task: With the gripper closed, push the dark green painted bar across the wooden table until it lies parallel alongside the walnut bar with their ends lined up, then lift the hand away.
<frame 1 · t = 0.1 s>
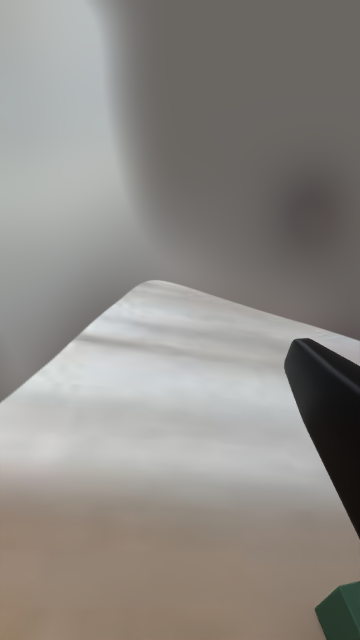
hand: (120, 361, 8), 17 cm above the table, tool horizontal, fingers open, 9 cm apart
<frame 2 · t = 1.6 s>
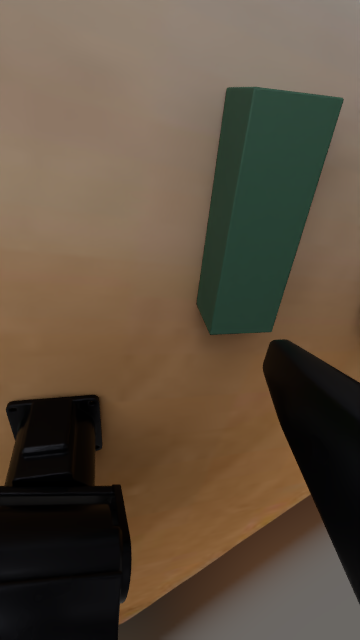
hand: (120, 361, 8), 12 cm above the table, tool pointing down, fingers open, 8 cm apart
green bar: (241, 216, 19), on the table
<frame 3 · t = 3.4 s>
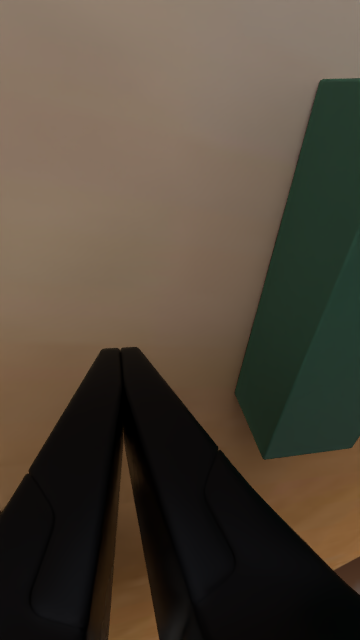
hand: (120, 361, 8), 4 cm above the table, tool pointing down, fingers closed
green bar: (312, 280, 12), on the table
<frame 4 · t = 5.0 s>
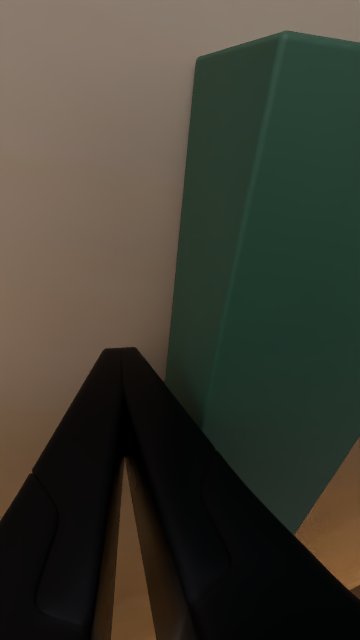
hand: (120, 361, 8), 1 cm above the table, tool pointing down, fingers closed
green bar: (236, 326, 10), on the table, touching gripper
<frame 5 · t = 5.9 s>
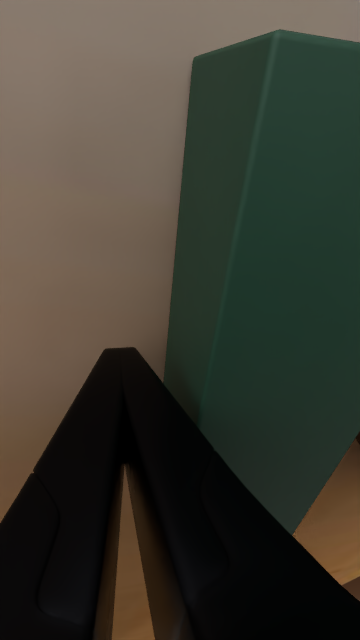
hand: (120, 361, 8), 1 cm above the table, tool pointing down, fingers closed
green bar: (234, 326, 10), on the table, touching gripper
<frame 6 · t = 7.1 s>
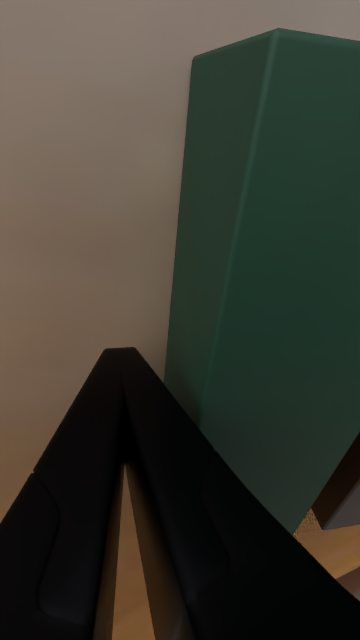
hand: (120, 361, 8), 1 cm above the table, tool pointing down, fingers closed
green bar: (235, 325, 10), on the table, touching gripper
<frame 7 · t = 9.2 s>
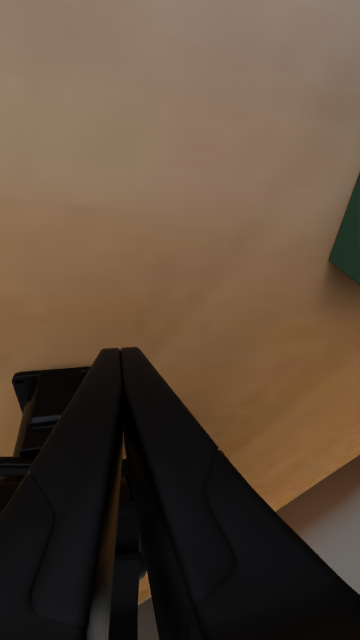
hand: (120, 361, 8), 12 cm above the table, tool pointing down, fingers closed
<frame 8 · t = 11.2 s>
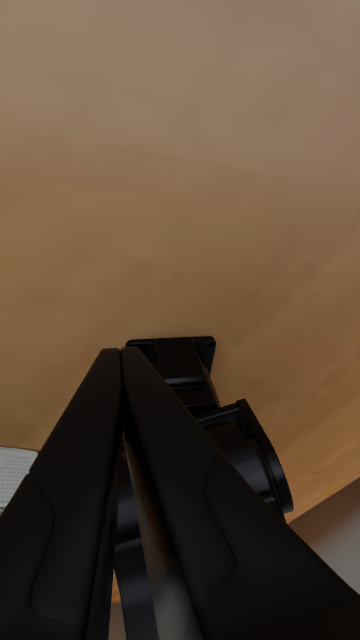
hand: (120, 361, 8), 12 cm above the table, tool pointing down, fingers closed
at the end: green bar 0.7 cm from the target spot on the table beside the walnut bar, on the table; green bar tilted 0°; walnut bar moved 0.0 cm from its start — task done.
